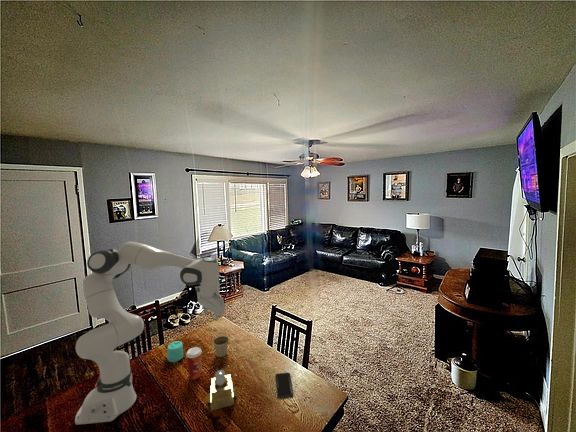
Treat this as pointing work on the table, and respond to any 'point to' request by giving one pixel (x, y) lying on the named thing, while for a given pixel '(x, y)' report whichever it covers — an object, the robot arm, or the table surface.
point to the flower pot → (221, 345)
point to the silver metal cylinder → (220, 379)
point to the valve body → (221, 394)
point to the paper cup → (194, 362)
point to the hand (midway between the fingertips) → (211, 316)
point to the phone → (283, 385)
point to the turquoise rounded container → (175, 351)
